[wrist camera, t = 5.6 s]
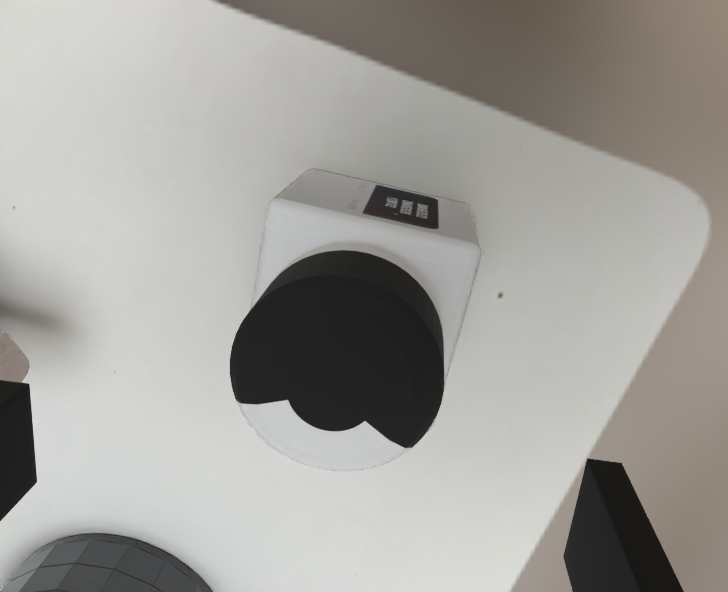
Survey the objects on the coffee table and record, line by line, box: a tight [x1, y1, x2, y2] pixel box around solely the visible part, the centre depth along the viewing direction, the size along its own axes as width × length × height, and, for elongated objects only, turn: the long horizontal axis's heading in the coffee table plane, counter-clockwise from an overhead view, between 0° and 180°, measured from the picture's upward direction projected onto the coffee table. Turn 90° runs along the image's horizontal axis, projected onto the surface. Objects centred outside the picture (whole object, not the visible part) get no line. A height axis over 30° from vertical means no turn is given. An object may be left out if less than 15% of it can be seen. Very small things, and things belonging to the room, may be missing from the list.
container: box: [230, 169, 481, 471], centre depth 26 cm, size 8×8×13 cm
